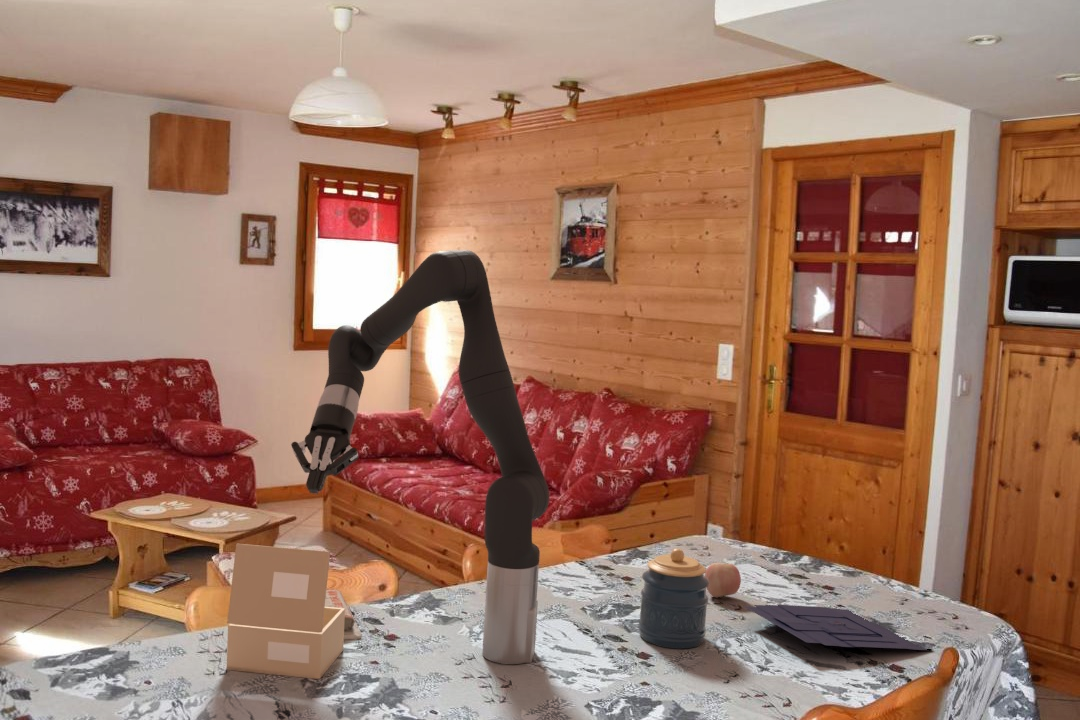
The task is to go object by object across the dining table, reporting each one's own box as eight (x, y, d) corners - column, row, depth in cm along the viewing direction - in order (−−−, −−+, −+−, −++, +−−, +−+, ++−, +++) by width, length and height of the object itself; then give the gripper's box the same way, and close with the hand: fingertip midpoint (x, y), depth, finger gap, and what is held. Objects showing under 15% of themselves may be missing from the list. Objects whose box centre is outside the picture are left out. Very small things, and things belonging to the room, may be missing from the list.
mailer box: (343, 650, 174) (345, 608, 174) (319, 679, 161) (321, 634, 161) (256, 641, 176) (258, 600, 175) (226, 669, 163) (227, 625, 162)
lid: (330, 551, 163) (329, 552, 162) (321, 631, 161) (320, 632, 160) (237, 543, 164) (236, 543, 163) (228, 622, 162) (226, 623, 162)
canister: (712, 634, 194) (719, 547, 193) (694, 655, 182) (701, 562, 181) (650, 621, 199) (656, 536, 198) (628, 640, 188) (635, 550, 186)
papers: (735, 616, 202) (738, 598, 202) (848, 621, 214) (851, 605, 214) (810, 660, 180) (813, 641, 180) (932, 664, 192) (935, 646, 192)
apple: (744, 597, 219) (746, 562, 218) (731, 606, 212) (734, 570, 212) (710, 589, 223) (713, 555, 222) (697, 597, 216) (700, 562, 216)
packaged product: (297, 587, 193) (347, 585, 197) (295, 611, 194) (346, 608, 197) (308, 618, 177) (363, 615, 180) (307, 645, 177) (362, 641, 180)
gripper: (298, 398, 185) (273, 476, 174) (367, 405, 184) (346, 483, 173) (305, 422, 190) (281, 498, 179) (372, 428, 190) (351, 505, 179)
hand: (313, 491), depth 176 cm, fingers closed
